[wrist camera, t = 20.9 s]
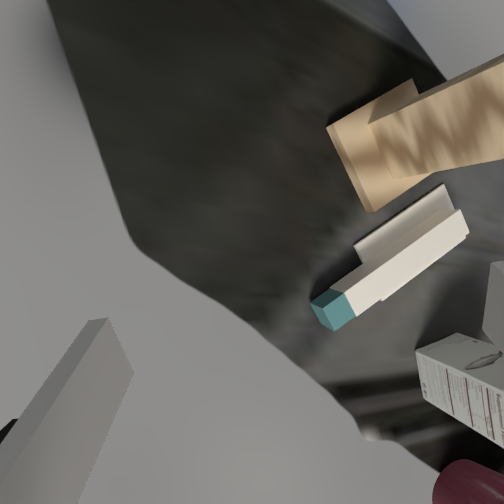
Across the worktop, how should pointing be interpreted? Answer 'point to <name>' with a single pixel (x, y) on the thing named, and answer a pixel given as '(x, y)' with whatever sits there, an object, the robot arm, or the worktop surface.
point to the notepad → (405, 228)
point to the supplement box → (465, 382)
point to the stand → (422, 133)
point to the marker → (389, 268)
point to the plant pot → (468, 484)
